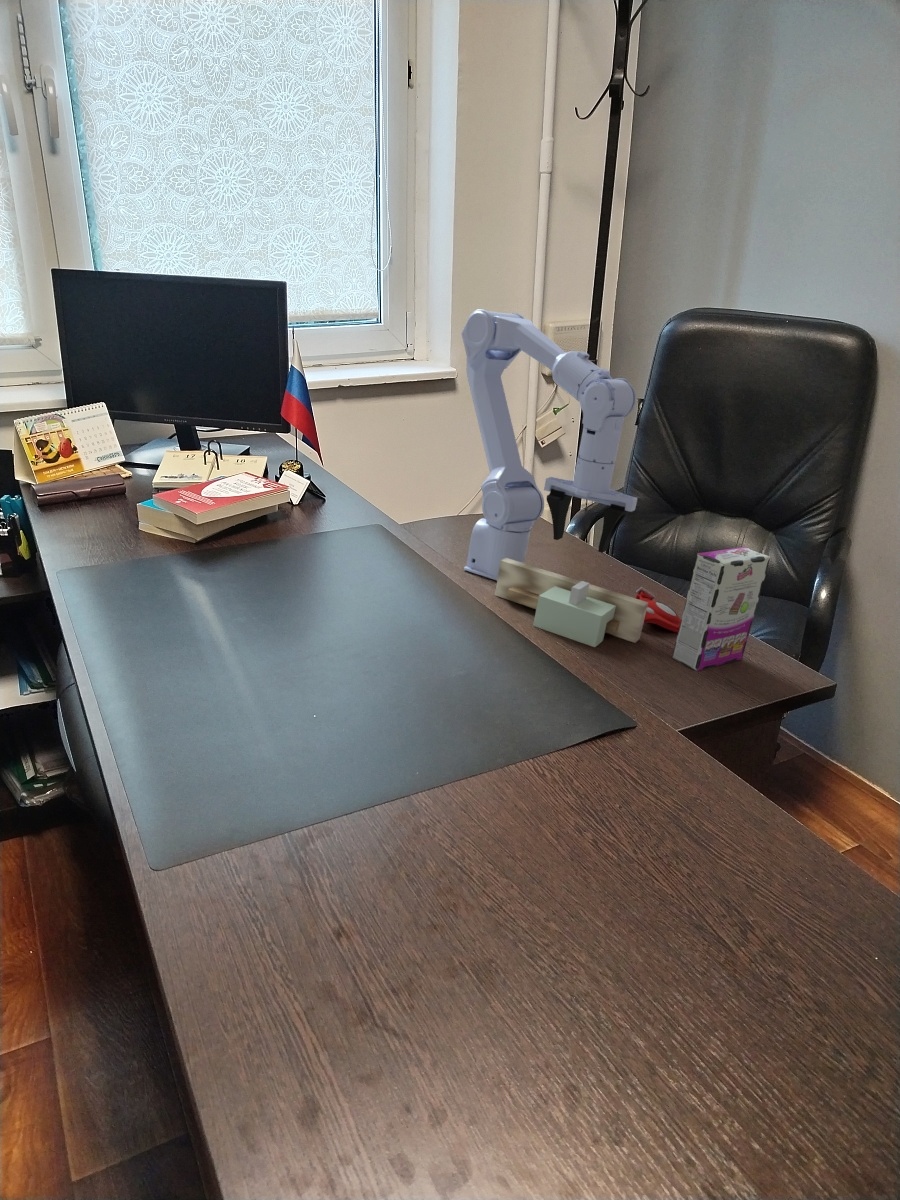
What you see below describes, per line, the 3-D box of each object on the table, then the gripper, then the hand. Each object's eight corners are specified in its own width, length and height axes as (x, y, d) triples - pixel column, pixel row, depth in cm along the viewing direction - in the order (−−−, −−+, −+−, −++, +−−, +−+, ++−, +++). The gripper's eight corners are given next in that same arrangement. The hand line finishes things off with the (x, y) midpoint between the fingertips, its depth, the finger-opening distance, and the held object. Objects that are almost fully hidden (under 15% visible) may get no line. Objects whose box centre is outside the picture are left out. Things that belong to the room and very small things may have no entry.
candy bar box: (715, 646, 128) (743, 545, 122) (742, 660, 124) (773, 556, 118) (668, 657, 121) (696, 551, 115) (695, 672, 118) (726, 563, 112)
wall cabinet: (532, 626, 125) (541, 579, 122) (549, 616, 130) (558, 571, 127) (594, 647, 121) (605, 600, 118) (608, 636, 126) (619, 590, 123)
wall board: (488, 598, 133) (494, 562, 131) (500, 592, 136) (506, 557, 134) (630, 646, 123) (639, 609, 121) (639, 639, 126) (648, 602, 124)
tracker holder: (699, 625, 133) (665, 619, 126) (683, 647, 135) (649, 642, 128) (648, 582, 141) (613, 574, 134) (634, 603, 142) (599, 597, 136)
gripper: (542, 452, 127) (527, 537, 131) (633, 473, 120) (614, 561, 125) (560, 448, 132) (546, 529, 137) (648, 467, 126) (629, 552, 131)
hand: (579, 544), depth 131 cm, fingers open, 7 cm apart
